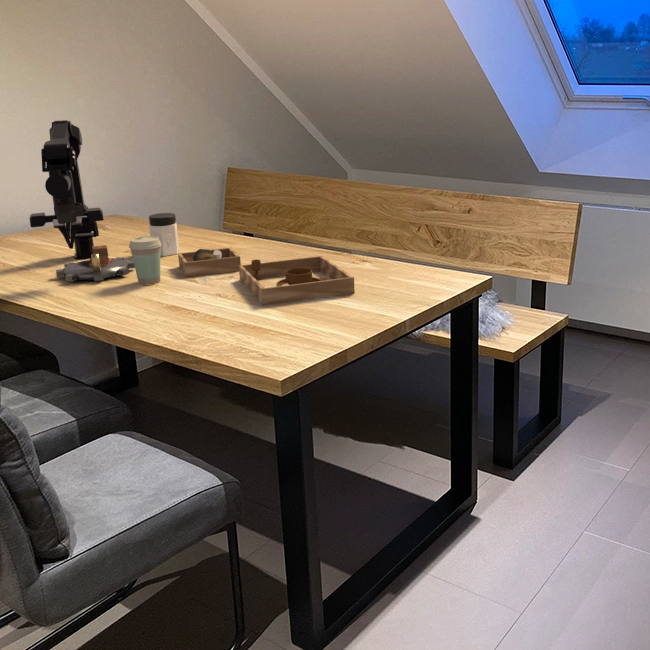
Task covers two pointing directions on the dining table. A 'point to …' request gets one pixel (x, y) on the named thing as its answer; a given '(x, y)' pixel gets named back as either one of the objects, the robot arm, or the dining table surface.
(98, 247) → the link block
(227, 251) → the open wooden box
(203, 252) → the eagle figurine
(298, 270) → the place setting
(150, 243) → the coffee cup
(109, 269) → the sprocket
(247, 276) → the saucer tray frame
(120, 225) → the dining table surface
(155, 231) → the jar
